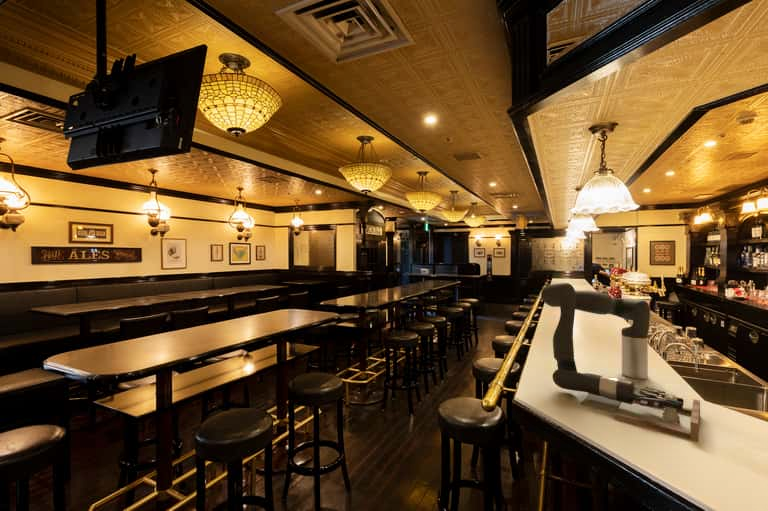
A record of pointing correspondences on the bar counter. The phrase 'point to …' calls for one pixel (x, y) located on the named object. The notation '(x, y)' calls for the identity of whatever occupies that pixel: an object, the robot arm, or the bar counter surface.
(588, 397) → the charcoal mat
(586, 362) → the bar counter surface
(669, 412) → the rook chess piece
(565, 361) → the robot arm
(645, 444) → the bar counter surface
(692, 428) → the walnut lane
